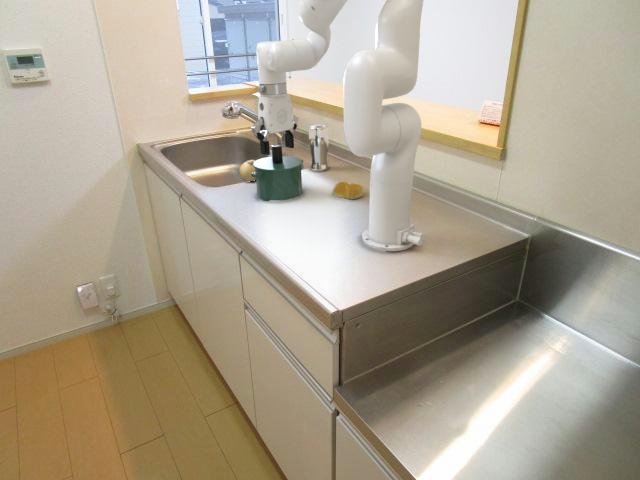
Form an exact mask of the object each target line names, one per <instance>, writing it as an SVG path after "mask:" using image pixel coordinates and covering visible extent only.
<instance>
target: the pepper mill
mask: <svg viewBox="0 0 640 480" xmlns="http://www.w3.org/2000/svg"><path fill="white" fill-rule="evenodd" d="M329 144H330V134H329V126H328V125H326V124H312V125H309V126H308V145H309V150H310V155H311V165H310V169H311V171H313V172H326V171H327V170H328V169H329V165H328V151H329Z"/></svg>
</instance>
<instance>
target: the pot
mask: <svg viewBox="0 0 640 480" xmlns="http://www.w3.org/2000/svg"><path fill="white" fill-rule="evenodd" d="M301 160H302V164H304V160H303V159H301ZM251 176H252V177H255V178H256V180H255V181H256V182H255V183H256V193H257V198H259V199H260V200H262V201H265V202H271V201H287V200H291V199H295V198H298V197H300V196H301V195H302V194H303V181H302V180H303V179H302V165H301V166H299V167H297V168H295V169H291V170H286V171H263V170H259V169H256V168H255V172H254V173H251Z"/></svg>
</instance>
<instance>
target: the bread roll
mask: <svg viewBox="0 0 640 480" xmlns="http://www.w3.org/2000/svg"><path fill="white" fill-rule="evenodd" d="M363 195H364V188H363V186H362V185H361V184H360V183H354V182H352V183H348V182H346V181H340V182H338V183H336V184H335V186H334V187H333V189H332V196H335V197H337V198H341V199H347V200H357V199H359V198H361V197H363Z"/></svg>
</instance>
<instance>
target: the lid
mask: <svg viewBox="0 0 640 480" xmlns="http://www.w3.org/2000/svg"><path fill="white" fill-rule="evenodd" d="M302 160H303V159H302V158H299V157H296V156H290V155H283V146H282V144H272V145H271V156H266V157H265V156H264V157H262V158H259V159H256V160H254V161H255V162H254V163H253V166H254V168H256V169H259V170H263V171H286V170H291V169H295V168H297V167H299V166H301V167H302V165H303V163H302Z"/></svg>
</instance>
